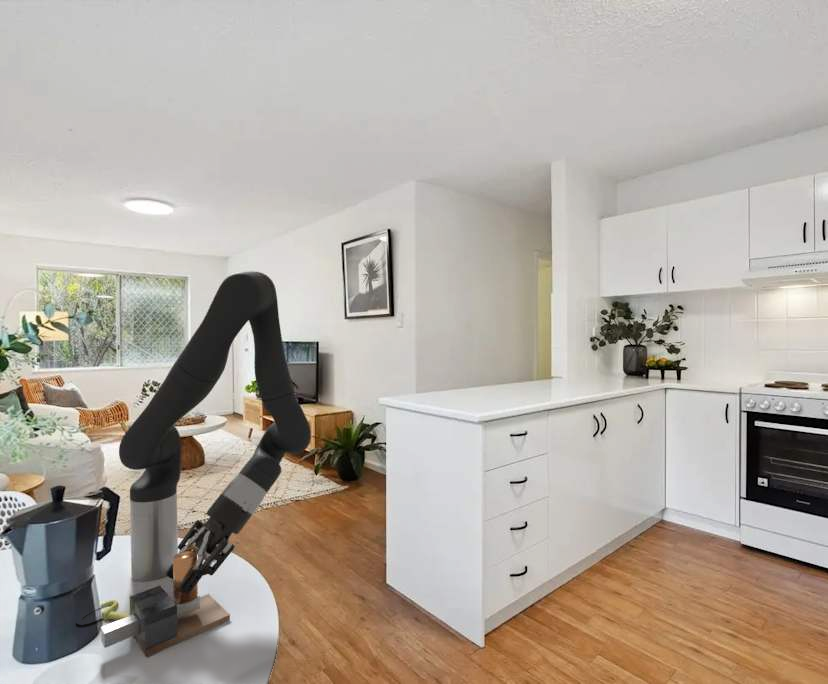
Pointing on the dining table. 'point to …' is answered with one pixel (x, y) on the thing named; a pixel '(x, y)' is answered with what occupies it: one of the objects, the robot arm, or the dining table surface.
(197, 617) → the base board
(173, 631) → the block
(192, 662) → the dining table surface
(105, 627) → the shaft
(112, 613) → the key
